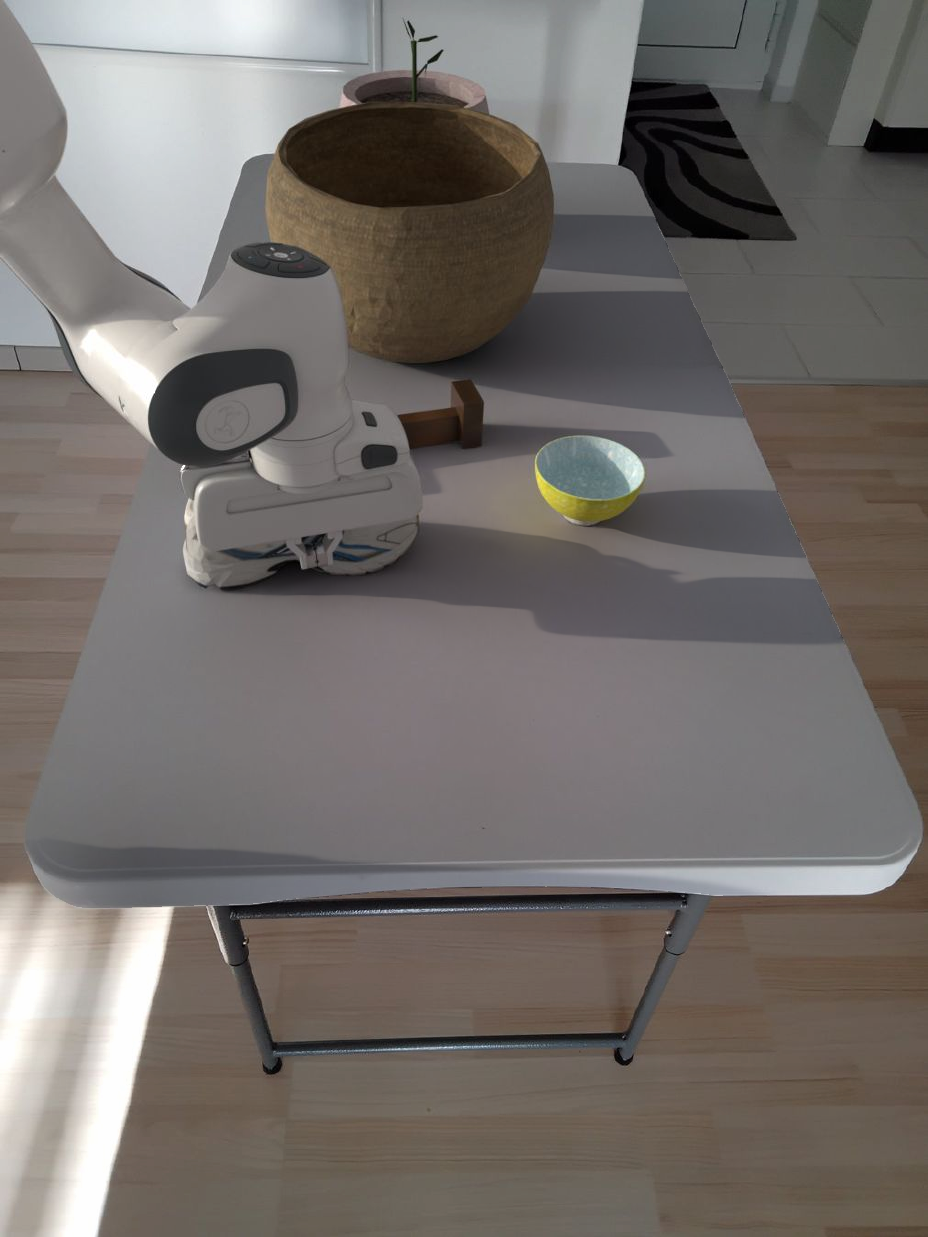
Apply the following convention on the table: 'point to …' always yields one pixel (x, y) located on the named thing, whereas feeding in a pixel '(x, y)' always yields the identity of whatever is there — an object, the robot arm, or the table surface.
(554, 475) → the bowl
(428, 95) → the plant pot
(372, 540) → the athletic shoe
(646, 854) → the table surface
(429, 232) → the basket
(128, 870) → the table surface
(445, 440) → the wooden rail
